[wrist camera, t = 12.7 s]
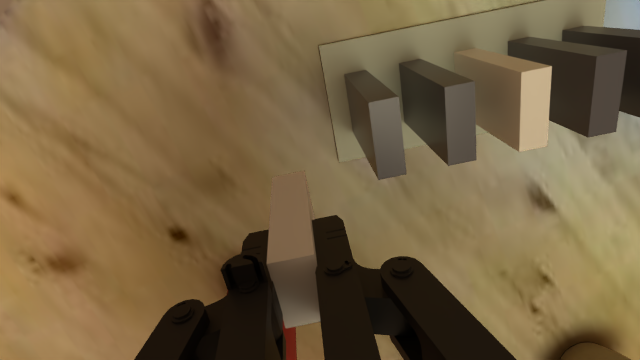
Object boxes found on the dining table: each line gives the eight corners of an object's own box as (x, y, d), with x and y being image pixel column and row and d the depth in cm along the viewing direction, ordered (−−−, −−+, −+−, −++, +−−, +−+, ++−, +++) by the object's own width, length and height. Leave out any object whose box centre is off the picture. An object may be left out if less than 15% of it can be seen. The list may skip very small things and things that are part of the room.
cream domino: (456, 111, 34) (519, 151, 25) (453, 52, 32) (521, 72, 23) (476, 107, 34) (547, 146, 25) (475, 48, 32) (551, 66, 23)
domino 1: (353, 132, 34) (378, 179, 25) (344, 74, 32) (368, 102, 23) (373, 128, 34) (406, 174, 25) (365, 69, 32) (398, 96, 23)
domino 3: (506, 101, 34) (588, 137, 25) (507, 41, 32) (596, 56, 23) (527, 97, 34) (616, 131, 25) (529, 36, 32) (627, 50, 23)
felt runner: (338, 161, 36) (339, 162, 35) (318, 45, 31) (318, 46, 31) (590, 110, 36) (593, 111, 35) (603, -12, 31) (607, -12, 31)
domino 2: (404, 122, 34) (448, 165, 25) (398, 63, 32) (444, 87, 23) (424, 117, 34) (476, 160, 25) (420, 58, 32) (475, 81, 23)
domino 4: (558, 91, 34) (657, 123, 25) (562, 30, 32) (672, 41, 23) (578, 86, 34) (685, 117, 25) (584, 25, 32) (703, 34, 23)
